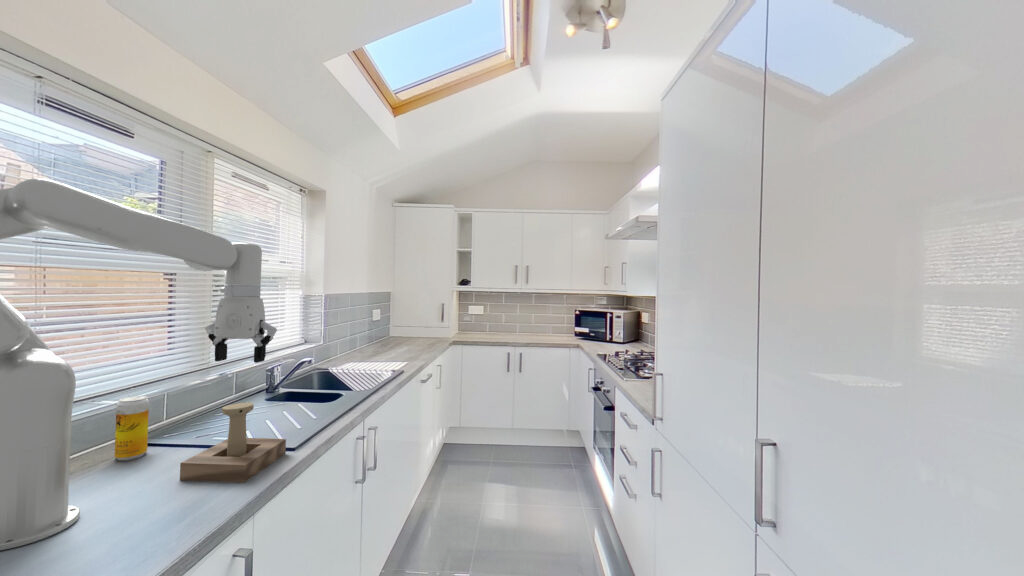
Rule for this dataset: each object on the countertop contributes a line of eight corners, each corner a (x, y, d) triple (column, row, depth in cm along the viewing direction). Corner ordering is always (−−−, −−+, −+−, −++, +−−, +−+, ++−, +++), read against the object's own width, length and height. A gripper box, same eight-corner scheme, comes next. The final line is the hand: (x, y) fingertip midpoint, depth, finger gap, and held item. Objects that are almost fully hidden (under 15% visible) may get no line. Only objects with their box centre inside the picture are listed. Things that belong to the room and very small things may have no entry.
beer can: (108, 459, 100) (110, 400, 100) (136, 450, 106) (138, 394, 106) (125, 462, 99) (128, 402, 99) (153, 453, 105) (155, 396, 105)
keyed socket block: (244, 482, 90) (245, 465, 90) (179, 480, 90) (180, 462, 90) (285, 453, 106) (286, 439, 106) (230, 452, 106) (230, 437, 106)
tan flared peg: (254, 465, 99) (256, 405, 99) (223, 473, 94) (225, 410, 94) (248, 459, 102) (250, 401, 102) (218, 467, 97) (220, 406, 98)
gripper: (196, 291, 95) (193, 362, 95) (267, 293, 95) (264, 365, 95) (219, 291, 103) (217, 357, 102) (285, 293, 102) (283, 359, 102)
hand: (240, 361), depth 99 cm, fingers open, 9 cm apart
